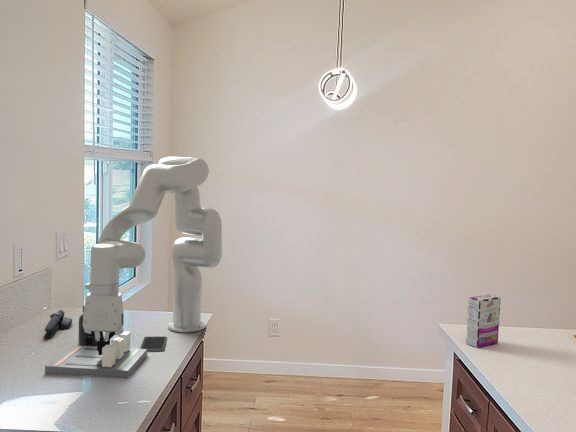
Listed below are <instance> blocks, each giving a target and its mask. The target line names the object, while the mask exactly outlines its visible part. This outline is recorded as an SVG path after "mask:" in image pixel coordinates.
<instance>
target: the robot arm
mask: <svg viewBox="0 0 576 432" xmlns="http://www.w3.org/2000/svg"><path fill="white" fill-rule="evenodd" d="M209 168H210V167H209V165H208V164H207V162H206V161H205V160H204V159H203V158H202V157H201V158H200V157H182V156H167V157H164V158H161V159H160V160H159V161H158V164H150V165H149V166H147V167H145V169H144V170H143V173H141V174H142V175H141V176H140V179H139V181H138V183H137V186H136V188H135V190H134V193H132V194H133V195H132V197H131V199H130V202H129V204H128V205H127V206H126V207H125V208H123V209H122V210H120V211H119V212H118V213H117V214H116V215H115V216H114V217H113V218H111V219H110V220H109V221H108V223H106V225H105V226H104V228H103V229H102V231H101V234H100V236H99V239H98V241H97V243H96V244H94V245H92V246H91V248H90V259H89V260H90V263H89V265H90V266H89V267H90V270H89V272H90V274H89V275H90V276H89V283H86V284H85V285H84V288H85V289H86V290H88V291H89V293H87V294H86V297H85V301H84V305H85V306H84V305H83V306H84V313H83V312H82V314H83V328H84V332H86V333H89V334H92V335H93V336H94V337H95V339H96V341H97V351H99V355H102V348H103V347H104V346H105V345H111V339H112V338H113V337H115V336H118V335H120V334H122V333H123V332H124V327H123V326H124V322H125V313H124V304H123V298H122V296H123V295H122V293H121V292H120V269H134V268H137V267H139V266H140V265H142V264H143V262H144V261H145V258H146V251H145V248H144V246H143V245H141V244H140V243H138V242H135V241H130V240H129V241H128V240H127V241H126V240H121V238H122V237H123V235H125V233H127V232H128V231H129V230H131V229H132V228H135V227H136V226H138V225H141V224H144V223H146V222H149V221H151V220H153V219H155V217H156V216H157V214H158V211H159V209H160V207H161V205H162V201H163V200H164V197H165V195H166V193H167V194H169V193H171V194H173V197H174V221H175V222H174V223H175V228H176V231H178V232H179V233H180V234H183V235H193V236H202V238H197V237H179V238H177V239H176V240H175V241H174V242H173V244H172V245H171V246H172V247H171V258H172V265H173V295H172V296H173V299H172V301H173V303H172V305H173V306H172V310H173V311H172V321H170V322H169V323H168V324H167V328H168V330H170V331H172V332H175V333H176V332H177V333H195V332H199V331H202V330H204V329H205V327H206V325H205V322H203V321H201V318H202V317H201V316H202V315H201V313H202V309H201V308H202V284H203V282H202V281H203V278H202V273H201V271H200V269H199V268H207V269H213V268H216V267H218V266H219V264H220V263H221V260H222V256H223V255H222V254H223V239H222V238H223V233H222V232H223V231H222V229H223V228H222V218H221V216H220V212H218V211H217V210H216V209H214V208H210V207H203V206H201V198H200V197H201V196H200V195H201V193H200V190H199V187H198V186H201V185H203V184H204V183H205V181H207V179H208V177H209V172H210V169H209Z"/></svg>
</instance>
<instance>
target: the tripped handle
mask: <svg viewBox="0 0 576 432" xmlns="http://www.w3.org/2000/svg"><path fill="white" fill-rule="evenodd" d="M110 345H116V353H115V359H121V358H122V357H123V356H124V338H121V337H118V336H117V337H114V338H113V339H112V340H110Z"/></svg>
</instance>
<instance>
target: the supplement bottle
mask: <svg viewBox="0 0 576 432" xmlns="http://www.w3.org/2000/svg"><path fill="white" fill-rule="evenodd" d="M84 306H85V304H84V305H82V314H80V315H79V318H78V340H77V343H78V345H79V346H97V341H96V339H95V337H94V336H93V335H92V334H89V333H86V332H84V328H83V313H84Z"/></svg>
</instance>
